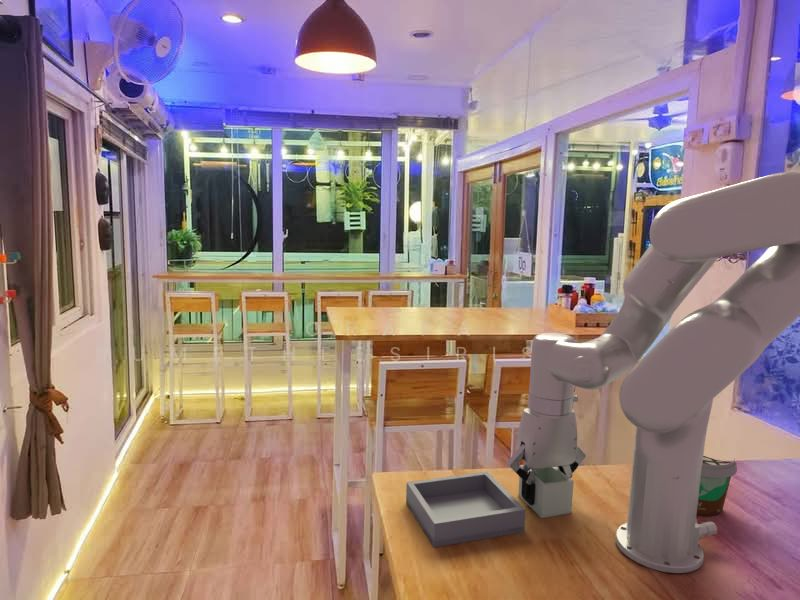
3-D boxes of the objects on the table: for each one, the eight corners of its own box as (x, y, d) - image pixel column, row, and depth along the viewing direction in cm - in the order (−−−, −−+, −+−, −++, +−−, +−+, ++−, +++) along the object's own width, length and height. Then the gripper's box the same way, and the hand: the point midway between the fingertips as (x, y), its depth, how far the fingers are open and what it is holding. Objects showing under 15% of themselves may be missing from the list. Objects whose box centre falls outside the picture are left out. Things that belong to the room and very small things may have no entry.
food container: (654, 509, 100) (659, 456, 98) (656, 494, 105) (661, 444, 104) (734, 528, 94) (740, 472, 93) (732, 511, 100) (738, 458, 98)
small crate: (546, 491, 106) (548, 461, 105) (571, 513, 98) (573, 481, 97) (518, 495, 104) (520, 465, 103) (541, 518, 96) (543, 485, 95)
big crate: (486, 491, 105) (487, 471, 105) (524, 531, 92) (525, 509, 91) (406, 502, 100) (406, 482, 100) (433, 547, 87) (434, 523, 87)
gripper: (579, 393, 104) (573, 483, 107) (496, 400, 99) (491, 495, 102) (605, 406, 97) (597, 502, 100) (517, 415, 92) (511, 516, 95)
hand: (544, 498), depth 101 cm, fingers closed on small crate, 6 cm apart
